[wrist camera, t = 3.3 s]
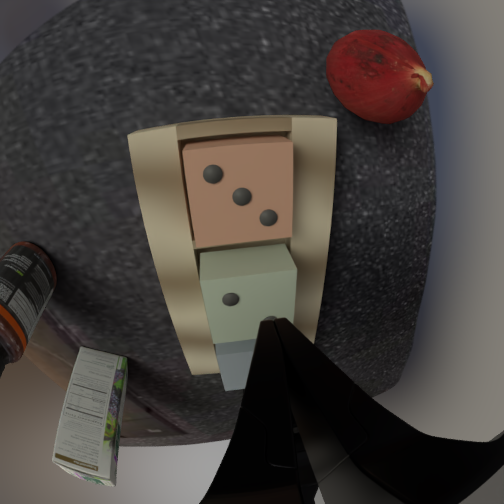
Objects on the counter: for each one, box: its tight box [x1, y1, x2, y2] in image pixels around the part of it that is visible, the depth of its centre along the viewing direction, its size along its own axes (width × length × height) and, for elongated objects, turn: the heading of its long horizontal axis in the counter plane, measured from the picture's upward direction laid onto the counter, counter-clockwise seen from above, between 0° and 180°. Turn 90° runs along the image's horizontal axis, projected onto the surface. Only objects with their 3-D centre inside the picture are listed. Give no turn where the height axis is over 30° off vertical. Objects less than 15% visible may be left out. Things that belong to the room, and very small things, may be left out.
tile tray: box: [128, 115, 337, 375], centre depth 20 cm, size 22×12×2 cm, turn 2°
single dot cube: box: [215, 339, 256, 391], centre depth 22 cm, size 6×6×3 cm
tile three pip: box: [182, 135, 293, 248], centre depth 15 cm, size 6×6×3 cm
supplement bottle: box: [0, 242, 57, 377], centre depth 14 cm, size 6×6×11 cm
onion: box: [326, 30, 434, 124], centre depth 11 cm, size 6×6×8 cm
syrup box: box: [52, 346, 128, 486], centre depth 20 cm, size 6×6×14 cm
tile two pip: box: [200, 243, 297, 344], centre depth 18 cm, size 6×6×3 cm
